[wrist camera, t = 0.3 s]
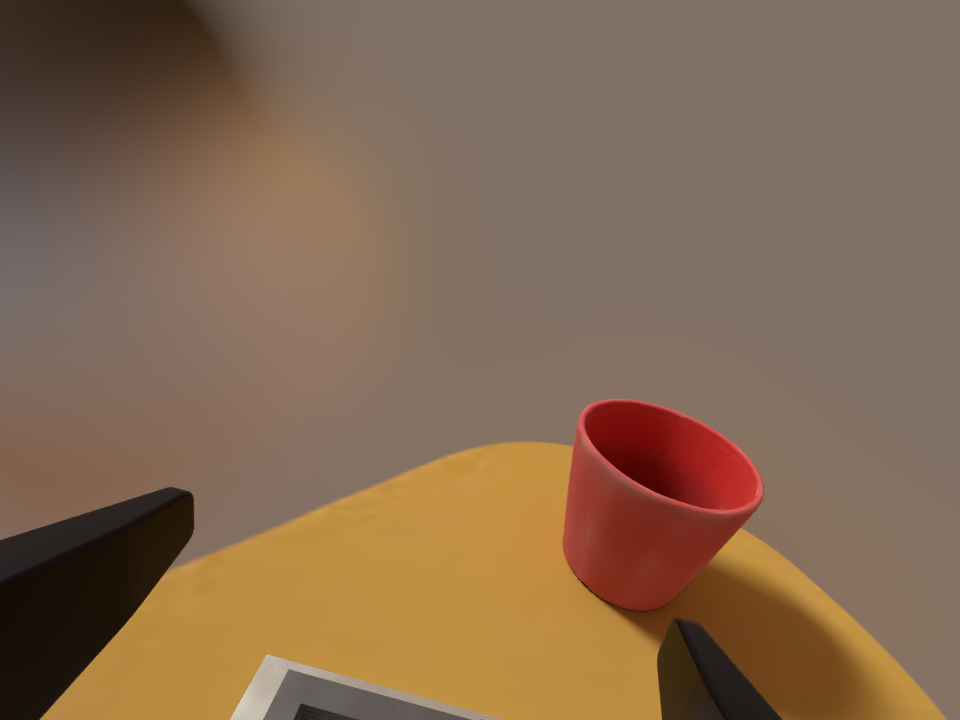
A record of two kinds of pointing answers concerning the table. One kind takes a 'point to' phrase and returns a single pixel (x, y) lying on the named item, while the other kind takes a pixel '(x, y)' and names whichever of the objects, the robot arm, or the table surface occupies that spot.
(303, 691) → the bracket
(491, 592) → the table surface
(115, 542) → the robot arm
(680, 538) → the flower pot
